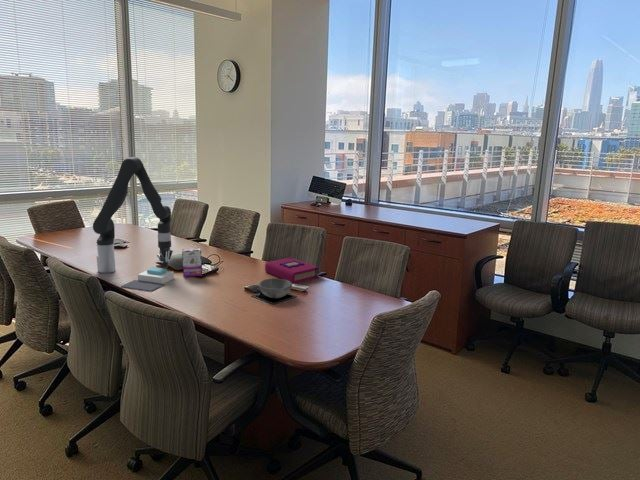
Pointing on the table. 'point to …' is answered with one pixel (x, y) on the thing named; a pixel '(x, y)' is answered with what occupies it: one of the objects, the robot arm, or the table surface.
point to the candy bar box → (192, 262)
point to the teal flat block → (156, 271)
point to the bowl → (275, 287)
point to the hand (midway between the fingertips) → (165, 267)
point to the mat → (142, 285)
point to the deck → (156, 277)
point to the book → (291, 270)
